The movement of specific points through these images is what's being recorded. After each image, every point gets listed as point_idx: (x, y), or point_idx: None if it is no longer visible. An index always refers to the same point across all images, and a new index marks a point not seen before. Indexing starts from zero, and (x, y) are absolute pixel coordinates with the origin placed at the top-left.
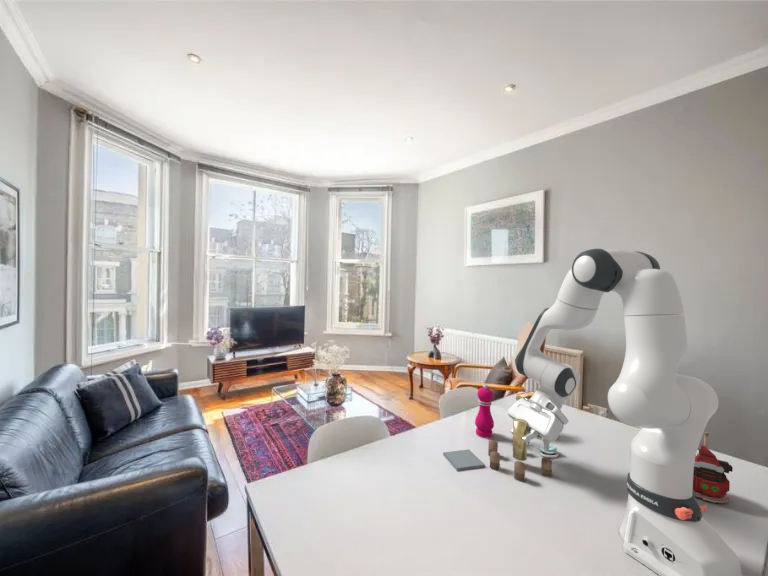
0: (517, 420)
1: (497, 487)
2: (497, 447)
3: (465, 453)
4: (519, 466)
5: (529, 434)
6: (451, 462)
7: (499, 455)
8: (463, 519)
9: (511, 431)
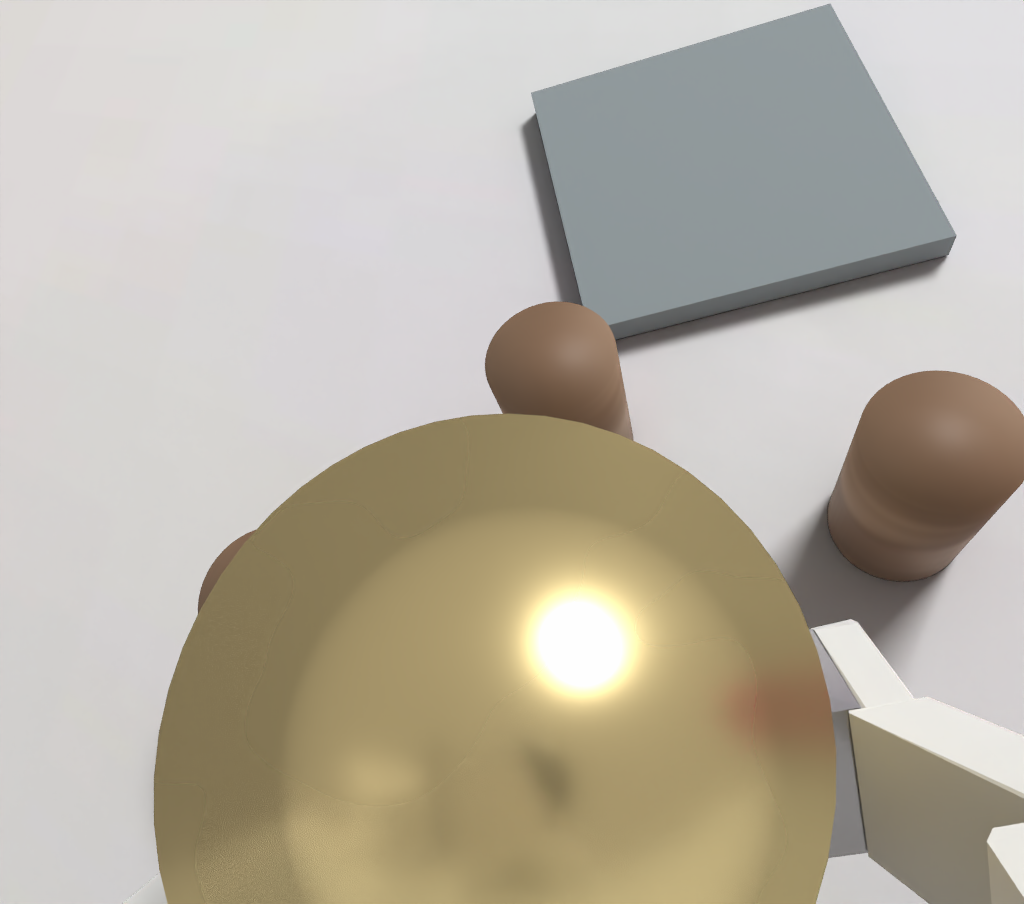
0: (544, 602)
1: (258, 367)
2: (891, 527)
3: (831, 185)
4: (219, 564)
5: (161, 890)
6: (638, 64)
7: (504, 404)
8: (51, 108)
9: (811, 628)
